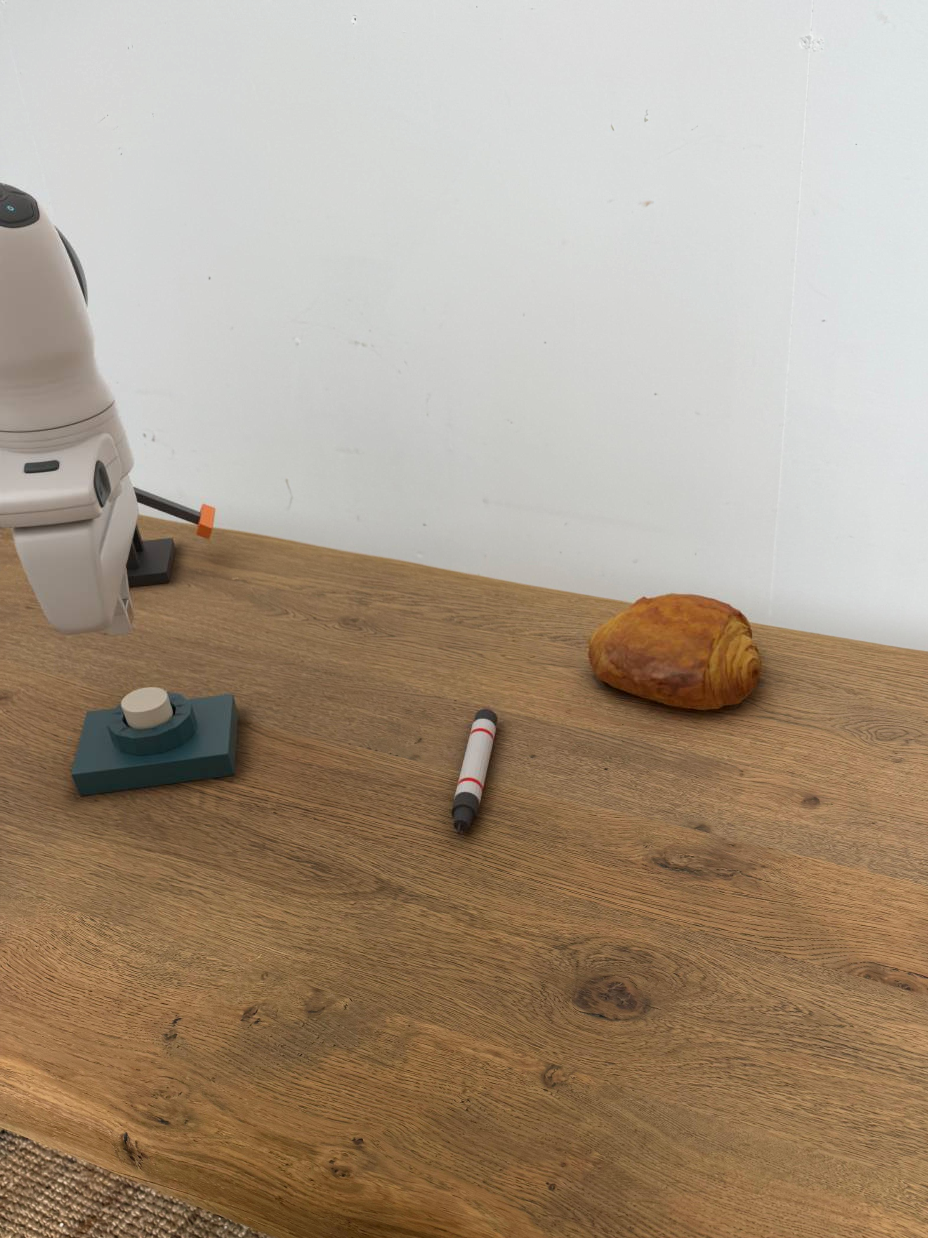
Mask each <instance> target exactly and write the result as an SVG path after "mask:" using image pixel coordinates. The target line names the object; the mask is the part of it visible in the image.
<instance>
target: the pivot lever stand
mask: <svg viewBox="0 0 928 1238" xmlns="http://www.w3.org/2000/svg"><path fill="white" fill-rule="evenodd" d="M174 541H175V540H174V538H173V537H167V538H159V539H157V538H156V539H148V540H143V539H142V536H141V532H140V529H139V526H138V522H137V523H136V527H135V531H134V535H133V539H132V543H131V547H130V552H129V556H128V560H127V564H126V570H127V578H128V585H129V588H131V587H140V586H149V585H159V584H167V583H170V581H171V580H170V579H171V575H172V574H171V573H172V569H173V563H174V558H175V553H176V545H175V542H174Z"/></svg>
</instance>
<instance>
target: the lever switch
mask: <svg viewBox="0 0 928 1238" xmlns="http://www.w3.org/2000/svg"><path fill="white" fill-rule="evenodd" d="M133 489H134V492H135V495H136V499H137V504H141V505H144V506H145V507H149V508H151V509H154V510H157V511H160V512H161V513H165V514H167V515H170V516H173V517H176V518H178V519H181V520H183V521H186V522H188V523H192V524H194V525H196V532H195V535H196V536H198V537H201V538H204V539H206V540H210V537H211V535H212V533H213V529H214V520H215V515H216V507H213V506H211V505H209V504H206V503H202V504H201V507H200V511H198V510H196V509H193V508H190V507H187V506H186V505H183V504H180V503H177V502H175V501H172V500H171V499H170V500H169V499H167V498H165V497H164V498H163V497H161V496H159V495H157V494H154V493H151V492H148V491H146V490H143V489H140V488H138V487H135V486H133Z"/></svg>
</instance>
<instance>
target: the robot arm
mask: <svg viewBox="0 0 928 1238" xmlns="http://www.w3.org/2000/svg"><path fill="white" fill-rule="evenodd" d="M84 271H85V270H84V267H83V265H82V262H81V261H80V258H79V256H78V255H77V252H76V251H75V249H74V247H73V246H72V245H71V243H70V242H69V240H68V239H67V237H65V235H64V234H63V233H62V232H61V230H59V229H58V227H57V226H56V225H55V224H54V223H53V221H52V220H51V218H50V216H49V214H48V212H46V210H45V208H44V207H43V206H42V204H41V202H39V201H38V199H36V198H35V197H34V196H33V195H31V194H30V193H27V192H26V191H24V190H21V189H19V188H17V187H16V186H13V185H10V184H7V183H3V182H0V528H2V529H11V528H12V538H13V539H12V540H13V543H14V547H15V551H16V553H17V556H18V559H19V561H20V564H21V566H22V568H23V570H24V571H23V572H24V573H25V576H26V577H27V580H28V582H29V584H30V587H31V589H32V591H33V593H34V595H35V597H36V599H37V601H38V604H39V606H40V608H41V610H42V612H43V614H44V616H45V618H46V619H47V621H48V623H49V624H50V626H51V627H52V628H54V629H55V630H56V632H58V633H60V634H61V635H64V636H72V635H80V634H88V633H96V632H102V631H103V632H104V631H105V633H106V634H107V635H109V636H111V637H117V636H125V635H129V634H130V633H131V630H132V625H133V621H134V620H133V619H134V616H135V614H136V613H135V612H136V611H135V607H134V604H133V601H132V599H131V595H130V587H129V585H128V578H127V570H126V564H127V560H128V556H129V552H130V547H131V543H132V539H133V535H134V531H135V527H136V523H137V524H138V519H139V514H140V513H139V503H138V502H137V499H136V495H135V492H134V489H133V487H134V485H133V484H132V481H131V478H130V475H129V473H131V471H132V470H133V468H134V465H135V459H134V455H133V452H132V448H131V445H130V443H129V439H128V436H127V433H126V430H125V427H124V424H123V423H124V422H123V420H122V416H121V414H120V410H119V407H118V403H117V400H116V396H115V394H114V391H113V389H112V387H111V385H110V383H109V382H108V380H107V378H106V377H105V375H104V374H103V372H102V370H101V368H100V365H99V363H98V358H97V354H96V336H95V329H94V325H93V321H92V319H91V315H90V312H89V309H88V305H89V295H88V294H89V293H88V284H87V279H86V274H85V272H84Z"/></svg>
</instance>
